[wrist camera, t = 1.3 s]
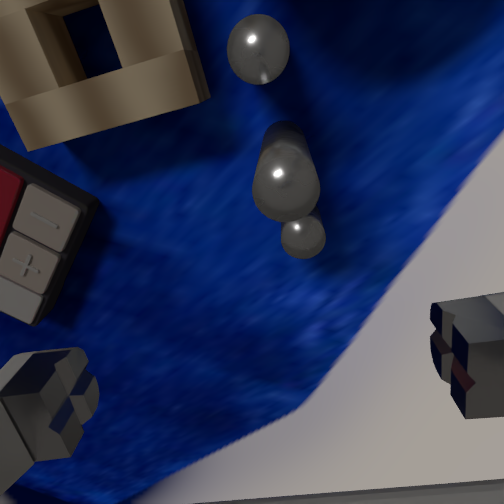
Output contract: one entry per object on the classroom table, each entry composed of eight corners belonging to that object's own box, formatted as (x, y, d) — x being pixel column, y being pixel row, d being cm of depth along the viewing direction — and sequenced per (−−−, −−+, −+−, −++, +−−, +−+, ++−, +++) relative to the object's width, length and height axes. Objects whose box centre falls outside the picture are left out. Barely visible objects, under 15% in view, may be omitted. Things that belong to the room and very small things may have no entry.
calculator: (86, 210, 34) (31, 333, 39) (105, 197, 38) (52, 310, 43) (-40, 142, 32) (-80, 281, 37) (-6, 135, 36) (-47, 262, 41)
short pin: (316, 194, 35) (321, 213, 31) (323, 230, 37) (329, 254, 32) (277, 203, 36) (276, 223, 31) (285, 238, 37) (286, 262, 33)
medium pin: (281, 21, 30) (281, 5, 22) (291, 71, 31) (295, 75, 23) (235, 35, 30) (219, 25, 22) (247, 84, 32) (236, 91, 24)
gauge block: (159, -81, 27) (136, -109, 23) (210, 97, 32) (199, 102, 28) (-11, -18, 30) (-63, -32, 25) (60, 139, 35) (27, 151, 30)
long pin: (300, 115, 32) (312, 149, 20) (308, 157, 34) (325, 214, 21) (258, 126, 33) (244, 166, 21) (268, 167, 35) (261, 228, 22)
